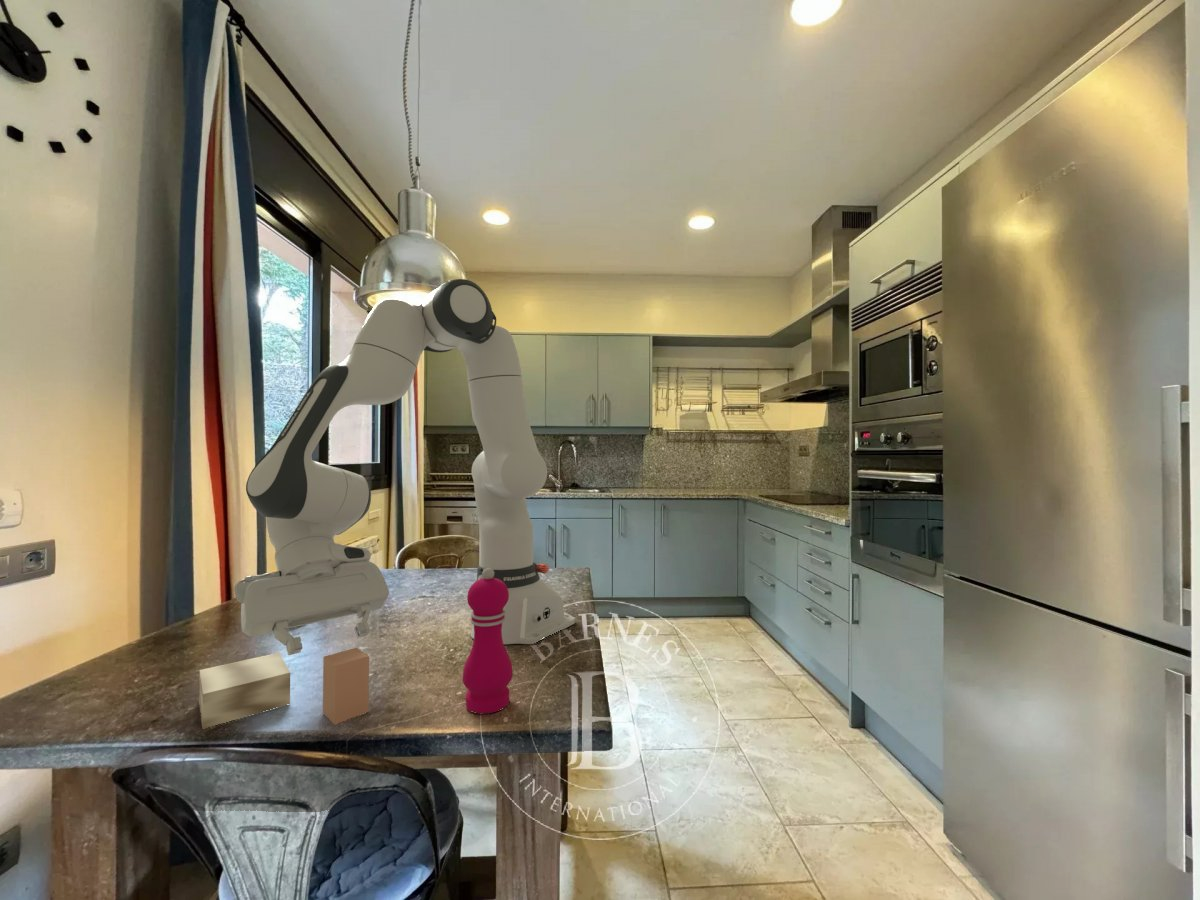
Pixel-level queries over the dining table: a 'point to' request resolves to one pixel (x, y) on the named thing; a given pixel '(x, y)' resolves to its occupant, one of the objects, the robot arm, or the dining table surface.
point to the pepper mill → (487, 647)
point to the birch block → (243, 689)
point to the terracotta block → (345, 685)
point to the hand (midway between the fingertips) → (331, 643)
